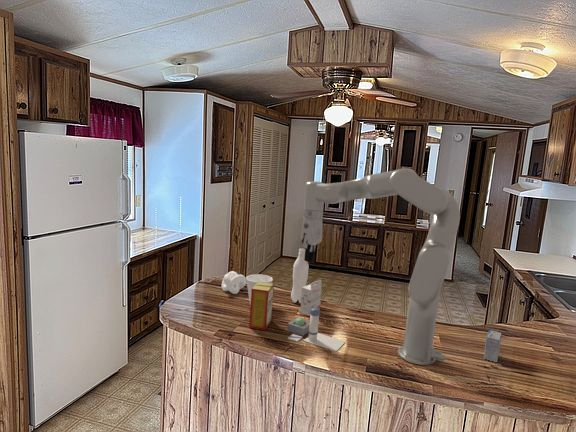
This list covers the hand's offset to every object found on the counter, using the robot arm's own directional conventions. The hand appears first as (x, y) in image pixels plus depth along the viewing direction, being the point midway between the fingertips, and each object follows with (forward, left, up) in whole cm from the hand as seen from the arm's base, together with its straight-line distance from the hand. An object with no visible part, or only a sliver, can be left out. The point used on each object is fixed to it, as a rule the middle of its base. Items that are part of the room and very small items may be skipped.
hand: (308, 261), depth 153 cm
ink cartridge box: (+5, -16, -27) cm, 32 cm away
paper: (-12, +6, -27) cm, 30 cm away
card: (-2, +11, -27) cm, 29 cm away
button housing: (0, +4, -27) cm, 27 cm away
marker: (-8, +8, -27) cm, 29 cm away
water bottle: (+15, -24, -27) cm, 39 cm away
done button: (0, +3, -27) cm, 27 cm away
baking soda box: (+15, +8, -27) cm, 32 cm away
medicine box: (-66, -21, -27) cm, 74 cm away
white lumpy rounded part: (+47, -15, -27) cm, 56 cm away
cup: (+27, -8, -27) cm, 39 cm away
